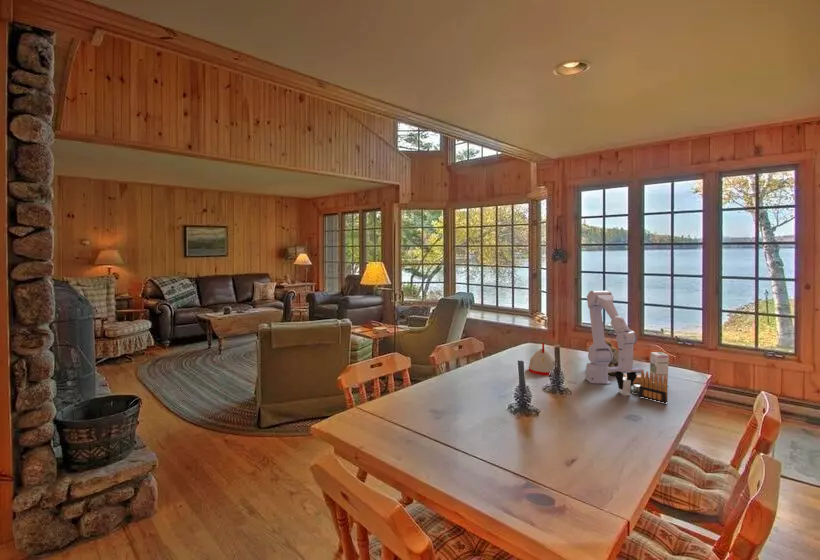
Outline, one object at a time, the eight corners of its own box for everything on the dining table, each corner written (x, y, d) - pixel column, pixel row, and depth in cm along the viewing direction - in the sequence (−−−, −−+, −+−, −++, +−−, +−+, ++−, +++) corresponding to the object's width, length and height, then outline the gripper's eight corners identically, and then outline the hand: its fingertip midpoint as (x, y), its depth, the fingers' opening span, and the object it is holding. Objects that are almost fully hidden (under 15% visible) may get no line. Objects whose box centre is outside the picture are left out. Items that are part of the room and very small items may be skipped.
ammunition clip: (638, 397, 180) (639, 370, 180) (640, 396, 182) (641, 369, 181) (665, 404, 172) (667, 376, 171) (667, 403, 173) (668, 375, 172)
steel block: (630, 396, 182) (630, 380, 181) (622, 395, 182) (623, 380, 182) (625, 392, 187) (626, 376, 186) (618, 391, 187) (619, 376, 187)
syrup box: (668, 385, 196) (669, 354, 195) (655, 385, 196) (656, 354, 195) (661, 381, 202) (662, 351, 201) (648, 381, 202) (650, 351, 201)
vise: (633, 394, 184) (634, 386, 184) (620, 383, 198) (621, 376, 198) (662, 395, 183) (662, 387, 183) (647, 384, 197) (647, 377, 197)
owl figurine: (582, 370, 220) (583, 338, 218) (593, 366, 228) (593, 335, 226) (618, 378, 206) (619, 344, 205) (627, 373, 214) (629, 341, 213)
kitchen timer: (528, 374, 214) (529, 345, 213) (529, 366, 227) (529, 339, 226) (557, 376, 210) (558, 347, 209) (556, 368, 223) (556, 341, 222)
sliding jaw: (626, 383, 194) (626, 377, 194) (623, 380, 198) (623, 374, 198) (649, 383, 193) (649, 377, 193) (645, 381, 197) (645, 375, 197)
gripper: (611, 360, 180) (610, 391, 181) (647, 361, 179) (645, 392, 180) (605, 356, 187) (604, 385, 188) (640, 357, 186) (638, 386, 187)
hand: (624, 388), depth 184 cm, fingers closed on steel block, 3 cm apart
